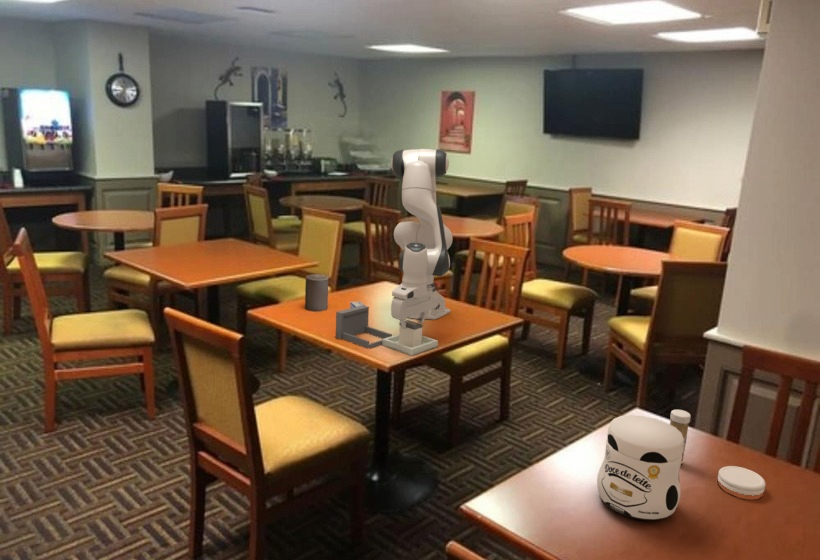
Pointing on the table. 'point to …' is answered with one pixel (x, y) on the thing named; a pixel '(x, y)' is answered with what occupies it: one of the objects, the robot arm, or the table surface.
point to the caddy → (411, 334)
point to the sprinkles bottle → (680, 423)
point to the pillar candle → (316, 292)
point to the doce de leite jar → (641, 468)
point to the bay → (357, 326)
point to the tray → (425, 345)
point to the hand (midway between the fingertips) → (412, 325)
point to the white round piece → (741, 480)
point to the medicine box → (355, 304)
